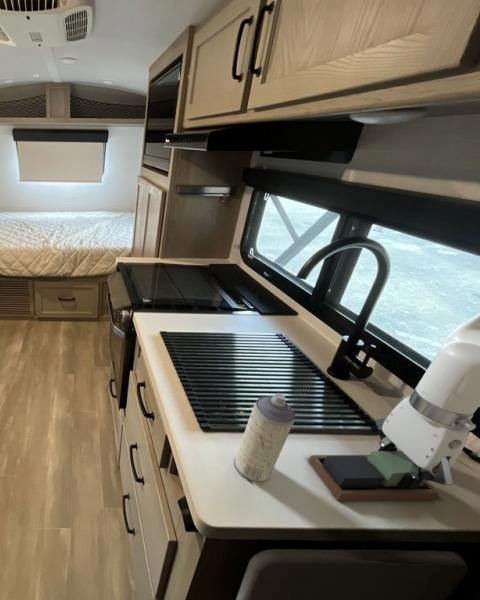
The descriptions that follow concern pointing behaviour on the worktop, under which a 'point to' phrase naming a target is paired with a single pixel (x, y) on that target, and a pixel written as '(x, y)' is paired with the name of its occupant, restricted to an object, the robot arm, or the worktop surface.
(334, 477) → the charcoal pad
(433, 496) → the tray
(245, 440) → the aerosol can
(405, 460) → the sage pad
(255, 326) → the worktop surface
